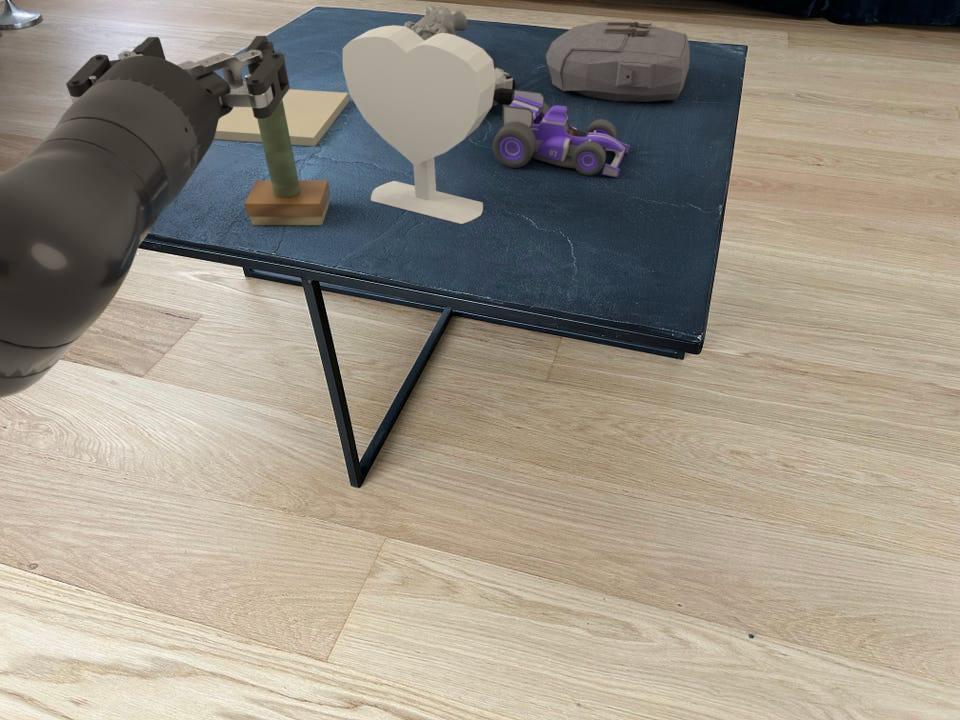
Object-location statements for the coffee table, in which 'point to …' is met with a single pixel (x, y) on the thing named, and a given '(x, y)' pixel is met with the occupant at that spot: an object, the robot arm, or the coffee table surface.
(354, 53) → the heart sculpture
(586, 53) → the soft grey pack
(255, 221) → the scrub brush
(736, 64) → the coffee table surface
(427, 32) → the elephant statuette
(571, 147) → the toy race car
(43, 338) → the robot arm
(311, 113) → the tile board
